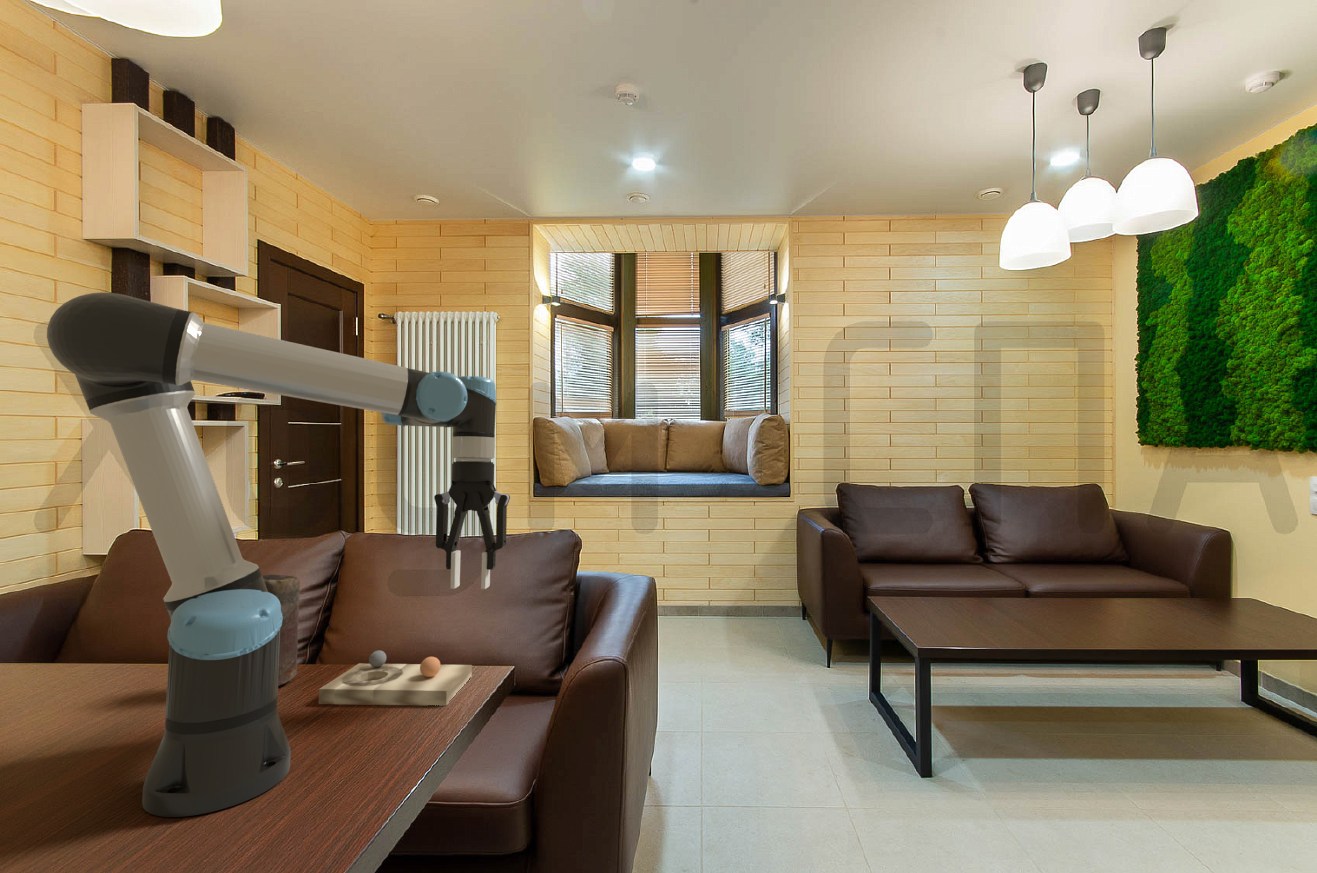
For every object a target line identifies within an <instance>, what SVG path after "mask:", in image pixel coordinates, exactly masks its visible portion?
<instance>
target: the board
mask: <svg viewBox="0 0 1317 873" xmlns="http://www.w3.org/2000/svg"><path fill="white" fill-rule="evenodd" d="M420 665H421V663H419V664H418V663H414V664H413V663H412V664H411V663H384V664H383V665H382V666H380V667H373V666H371V665H370V663H363V662H362V663H360V662H359V663H357V664H356V665H354V666H353V667H351V668H350V669H348V670H346V671H345V672H343V673H342V674H340V675H339V676H338V677H336V678H334V679H333V680H331V681H329V682H327V684H324V685H323V686H322V687H320V688H319V689H318V705H357V706H359V705H365V706H369V705H370V706H372V705H373V706H378V705H379V706H428V705H435V706H436V705H437V707H439V706H440V707H441V706H443V707H445V706H448V704H449V703H450V702H451V701H452V700H453V699H454V698H455V697H456V696H457V695H456V693H457V692H458V691H459V690H460V689H461V688H462V687H463V686H464V684H466V682H467V681H468V680H469V678H470V677H472V676H473V673H472V672H473V665H472V664H440V665H441V666H440V670H439V672H438V673H437V674H436V675H435V676H433V677H425V676H423V675H422V673H421V671H420ZM472 678H473V677H472ZM469 681H470V680H469ZM466 685H467V684H466ZM464 687H465V686H464ZM464 687H463V688H464ZM463 688H462V689H463ZM462 689H461V690H462ZM461 690H460V691H461ZM460 691H459V692H460ZM459 692H458V693H459ZM458 693H457V694H458ZM455 695H456V696H455ZM454 696H455V697H454ZM453 697H454V698H453ZM452 698H453V699H452ZM451 699H452V700H451ZM450 700H451V701H450ZM449 701H450V702H449ZM438 705H439V706H438Z"/></svg>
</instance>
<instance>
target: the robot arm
mask: <svg viewBox="0 0 1317 873" xmlns="http://www.w3.org/2000/svg"><path fill="white" fill-rule="evenodd" d="M46 339H47V343H48V347H49V349H50V351H51V353H52V355H53V357H54V358H55V359H56V360H57V361H58V362H59V363H60V364H61V365H62V367H64V368H66V370H68V371H69V372H71V373H72V374H74V376H75V378H76V380H77V383H78V386H79V388H80V391H81V393H82V396H83V398H84V401H85V402H86V405H87V408H88V410H89V413H90V415H94V416H95V417H97V418H100V419H102V420H105V421H106V422H108V423H110V426H111V429H112V431H113V434H114V437H115V439H116V443H117V445H118V447H119V449H120V452H121V454H122V457H123V460H124V463H125V465H126V468H127V470H128V472H129V476H130V478H131V481H132V484H133V485H134V488H135V489H134V490H135V491H136V493H137V496H138V498H139V501H140V504H141V507H142V509H143V511H144V514H145V517H146V520H147V522H148V525H149V527H150V530H151V532H152V534H153V538H154V539H155V543H156V545H157V547H158V550H159V552H160V555H161V558H162V560H163V563H164V565H165V566H164V567H165V569H166V570H167V573H168V574H167V575H168V576H169V578H170V582H171V586H170V587H169V588H168V590H167V592H166V594H165V595H164V597H163V598H162V600H163V603H164V605H165V608H166V609H167V610H166V611H167V612H168V615H169V618H170V624H169V626H168V629H167V641H168V645H169V646H168V647H169V648H168V663H167V664H168V667H167V682H166V683H167V684H166V702H165V703H166V704H165V718H164V719H165V721H164V722H165V723H164V733H163V737H162V739H161V741H160V743H159V746H158V748H157V750H156V754H155V755H154V757H153V760H152V762H151V764H150V767H149V770H148V772H147V774H146V777H145V779H144V782H143V785H142V786H143V787H142V797H141V798H142V800H141V805H142V809H143V810H144V811H146V812H147V813H149V814H151V815H154V816H158V817H166V818H179V817H181V818H182V817H192V816H197V815H203V814H209V813H212V812H216V811H220V810H223V809H227V808H230V807H233V806H236V805H238V804H241V803H244V802H247V801H249V800H251V799H254V798H256V797H258V796H260V795H262V794H264V793H265V792H268V791H269V790H270V789H272V788H273V787H275V786H277V785H278V784H279V783H280V782H282V780H283V779H285V777H287V775H288V773H289V772H290V768H291V747H290V744H289V741H288V738H287V735H286V733H285V730H284V726H283V725H282V722H281V718H280V716H279V713H278V697H279V696H278V694H279V692H278V691H279V686H278V674H279V650H280V627H281V625H282V620H283V616H282V612H281V604H280V601H279V599H278V598H277V597H276V596H275V595H273V594H271V593H269V592H268V590H267V588H266V585H265V582H264V580H263V577H262V575H263V574H262V572H261V569H260V567H259V565H258V564H257V563H254V562H251V561H248V560H245V559H244V558H243V556H242V553H241V549H240V547H239V546H238V542H237V538H236V537H235V535H234V534H235V533H234V532H233V529H232V526H231V523H230V521H229V518H228V516H227V512H226V510H225V507H224V504H223V501H222V499H221V497H220V493H219V491H218V488H217V486H216V483H215V482H216V481H215V480H214V477H213V475H212V471H211V469H210V467H209V464H208V461H207V458H206V455H205V452H204V449H203V447H202V444H201V442H200V439H199V437H198V434H197V430H196V428H195V425H194V423H193V420H192V417H191V415H190V412H189V409H188V406H189V404H190V402H191V401H192V400H193V398H194V397H195V395H196V391H195V389H194V387H193V383H192V381H197V382H198V381H199V382H201V383H202V382H203V383H209V384H215V385H221V386H225V387H226V386H227V387H232V388H238V389H244V390H248V391H256V392H262V393H266V394H272V395H278V396H284V397H290V398H296V399H302V400H308V401H314V402H319V403H326V404H330V405H337V406H341V407H342V406H343V407H349V408H354V409H360V410H367V411H371V412H378V413H381V417H382V420H383V422H384V423H385V424H386V425H390V426H391V425H393V426H401V427H430V428H431V427H433V428H434V427H436V428H437V427H438V428H439V427H440V428H452V448H451V449H452V450H451V452H452V453H451V457H452V458H453V459H455V460H454V461H453V462H452V463H451V484H450V487H449V489H448V491H445V492H442V493H436V494H435V495H434V498H433V500H434V502H435V505H436V525H435V526H436V527H435V531H436V532H435V547H436V548H437V549H442V550H444V551H445V553H446V554H445V559H446V560H445V567H446V570H450V586H449V588H450V589H452V590H455V589H457V588H458V587H460V584H461V555H462V554H461V552H462V551H461V550H457V549H458V544H459V540H460V536H461V532H462V529H463V526H464V523H465V522H464V521H465V518H466V516H467V514H468V512H469V511H473V512H476V514H477V517H478V520H479V523H480V528H481V532H482V537H483V541H484V546H485V550H484V551H482V553H481V575H480V576H481V579H480V580H481V581H480V583H481V585H480V590H486V589H487V588H489V587H490V585H491V570H494V569H495V568H496V558H497V551H498V550H501V549H503V548H505V547H506V546H507V523H508V521H507V520H508V518H507V517H508V515H507V514H508V505H509V503H510V499H511V496H510V495H509V494H508V493H501V492H499V491H497V489H496V487H495V463H494V462H493V461H492V460H493V459H494V458H495V448H496V434H495V433H496V432H495V431H496V413H497V412H496V410H497V408H496V407H497V391H496V383H495V381H493V379H491V378H488V377H484V376H476V375H474V376H473V375H472V376H470V375H462V376H461V375H460V376H457V375H456V374H453V373H452V372H447V371H440V370H438V371H432V372H427V371H423V370H418V369H415V368H414V369H413V368H407V367H406V366H401V365H400V366H399V365H396V364H392V363H386V362H382V361H377V360H373V359H368V358H364V357H359V356H356V355H350V354H347V353H341V352H337V351H332V350H327V349H324V348H319V347H314V346H310V345H305V344H300V343H298V342H297V343H296V342H291V341H287V340H283V339H279V338H274V337H270V336H265V335H262V334H261V335H260V334H255V333H251V332H247V331H242V330H238V329H233V328H228V327H223V326H220V325H215V324H212V323H211V324H210V323H207V322H204V321H203V320H202V319H201V318H200V316H199V315H198V314H197V313H196V312H193V311H189V310H184V309H179V308H176V307H173V306H167V305H164V304H160V303H155V302H153V301H149V300H146V299H142V298H138V297H135V296H134V297H133V296H131V295H130V296H129V295H127V294H122V293H115V292H114V293H113V292H92V293H87V294H83V295H79V296H77V297H74V298H71V299H69V300H68V301H66V302H64V303H63V304H62V305H61V306H59V307H58V308H57V309H55V311H54V313H53V314H52V315H51V316H50V319H49V322H48V324H47V328H46ZM450 499H452V501H453V502H454V504H455V510H454V516H453V520H452V524H451V527H450V531H449V532H448V530H449V504H450V501H451V500H450ZM493 499H495V500H494V502H495V504H496V520H495V521H496V522H495V523H496V525H495V526H496V528H495V531H496V532H495V533H496V534H494V529H493V525H492V521H491V516H490V509H489V508H490V507H489V505H490V503H491V501H492V500H493ZM448 533H449V535H448ZM495 538H496V539H495Z"/></svg>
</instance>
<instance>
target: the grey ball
mask: <svg viewBox="0 0 1317 873" xmlns="http://www.w3.org/2000/svg"><path fill="white" fill-rule="evenodd" d="M386 661H387V654H386V653H385V652H384V651H383V650H380V649H379V650H375V651H373V652H372V653H371V654H370V655H369V657H368V664H370V665H371V666H373V667H380V666H382V665H383V664H386Z"/></svg>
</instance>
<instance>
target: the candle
mask: <svg viewBox="0 0 1317 873" xmlns="http://www.w3.org/2000/svg"><path fill="white" fill-rule="evenodd" d="M262 577H263V580H264V582H265V585H266V588H267V590H268V592H269V593H271V594H273V595H275V596H276V597H277V598H278V599H279V601H280V604H281V612H282V616H283V620H282V625H281V627H280V650H279V674H278V687H279V686H281V685H284V684H286V683H288V682H290V681H291V680H292V679H293V678H294V677H296V676H297V674H298V673H297V671H298V670H297V669H298V644H299V642H298V641H299V640H298V638H299V613H300V611H299V608H300V588H301V587H300V582H301V581H300V578H299V577H298V576H296V575H286V574H284V575H280V574H262Z"/></svg>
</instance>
